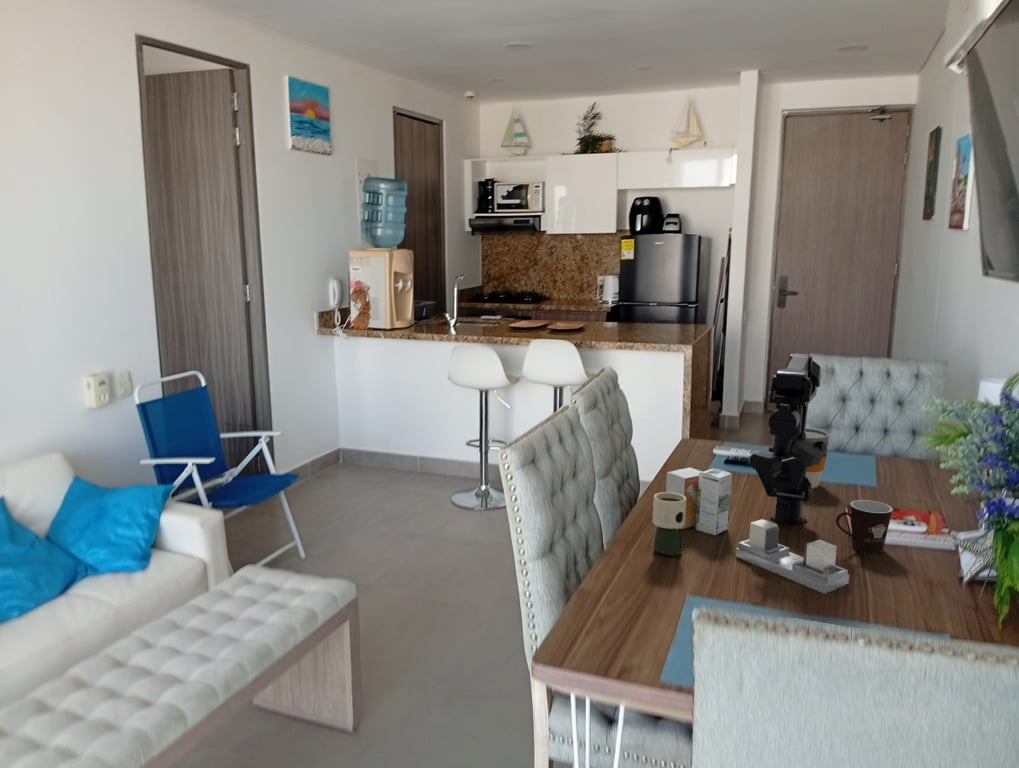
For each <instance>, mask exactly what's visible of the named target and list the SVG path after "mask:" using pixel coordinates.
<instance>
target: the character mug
mask: <svg viewBox="0 0 1019 768" xmlns="http://www.w3.org/2000/svg"><path fill="white" fill-rule="evenodd" d="M652 505H653V506H652V523H653V525H654V526H657V528H656V530H655V534H654V541H653V550H654V551H655V552H657V553H660V554H663V555H664V556H666V555H667V556H679V555H681V553H682V551H683V543H682V534H681V529H680V528H681V527H684V525H685V515H686V497H685V496H683V495H681V494H677V493H671V492H666V491H665V492H664V491H663V492H658V493H657V492H656V493H655V494H654V496H653V504H652Z"/></svg>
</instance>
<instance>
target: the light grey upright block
mask: <svg viewBox="0 0 1019 768" xmlns="http://www.w3.org/2000/svg"><path fill="white" fill-rule="evenodd" d="M779 534H780V527H779V526H778V524H776V523H774V522H771V521H769V520H766V519H759V520H758V519H757V520H756V521H751V522H750V523H749V537H748V539H749V545H750V546H752V547H755V548H757V549H760V550H762V551H765V552H767V553H770V552H773V551H776V547H778V544H779V536H780V535H779Z"/></svg>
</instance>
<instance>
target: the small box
mask: <svg viewBox="0 0 1019 768" xmlns="http://www.w3.org/2000/svg"><path fill="white" fill-rule="evenodd" d="M702 472H703V471H701V470H699V469H696V468H693V467H690V466H689V467H687V468H680V469H676V470H672V471H667V472H666V483H665V484H666V485H665V492H671V493H677V494H681V495H683V496H685V497H686V515H685V525H684V527H681V528H679V529H680V530H685V529H688V528H689V529H690V528H692V527H696V514H697V499H698V484H699V473H702Z"/></svg>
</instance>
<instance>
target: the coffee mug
mask: <svg viewBox="0 0 1019 768" xmlns="http://www.w3.org/2000/svg"><path fill="white" fill-rule="evenodd" d="M892 514H893V507H892V506H890V505H888V504H886V503H884V502H880V501H874V500H870V499H869V500H867V499H859V500H853V501H851V502H850V512H847V511H844V512H841V513H839V514H838V515H837V516H836V519H835V524H836V526H837V528H839V530H841V531H842V532H843V533H845V534H846V535H848V537H849V536H850V537H851V547H852V548H853V549H854V550H855V549H856V550H855V551H857V550H858V551H857V552H860V551H862V552H861V553H863V552H866V553H865V554H868V553H879V554H881V553H880V552H882V551H883V552H884V548H885V547H884V546H885V544H886V539H887V534H888V530H889V526H890V522H891V517H892ZM843 516H849V517H850V524H851V525H850V528H851V532H849V531H847V530H846V529H844V528H842V526H841V524H840V519H841V517H843ZM883 552H882V553H883Z"/></svg>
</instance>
